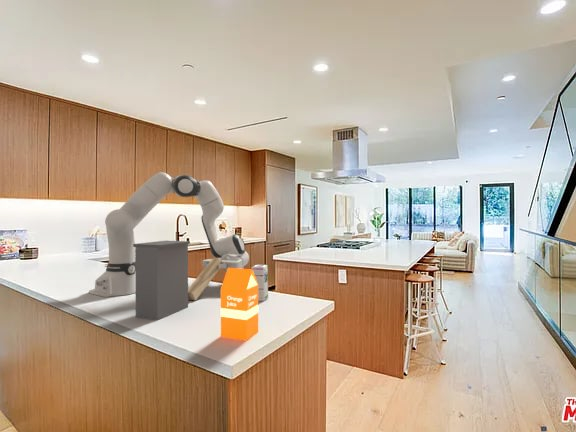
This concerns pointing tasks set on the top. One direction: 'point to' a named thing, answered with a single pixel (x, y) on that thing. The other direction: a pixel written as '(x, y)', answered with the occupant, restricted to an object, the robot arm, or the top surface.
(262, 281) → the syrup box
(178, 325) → the top surface
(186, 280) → the pedestal
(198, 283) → the maple bar
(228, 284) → the orange juice
